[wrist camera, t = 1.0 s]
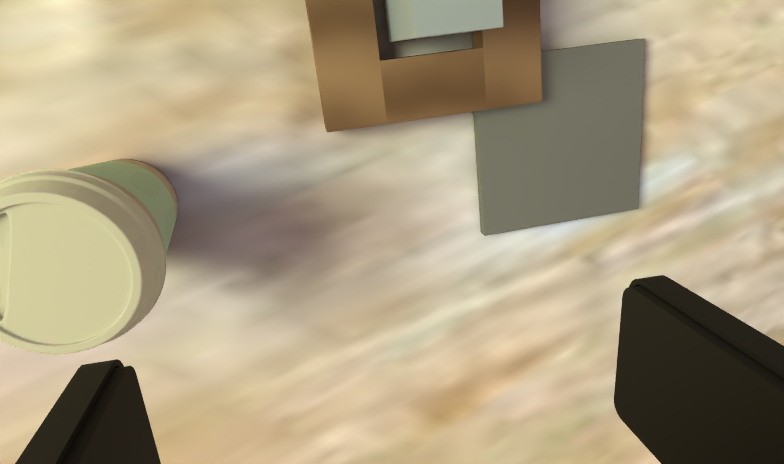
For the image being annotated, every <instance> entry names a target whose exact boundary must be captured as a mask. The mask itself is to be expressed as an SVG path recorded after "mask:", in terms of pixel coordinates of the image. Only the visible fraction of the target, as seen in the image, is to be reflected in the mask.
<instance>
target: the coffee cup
mask: <svg viewBox="0 0 784 464" xmlns="http://www.w3.org/2000/svg"><path fill="white" fill-rule="evenodd" d="M177 214H178V201H177V196H176V193H175V191H174V189H173V187H172V185H171V184H170V182H169V181H168V180H167V178H166V177H165V176H164V175H163V174H162V173H161V172H159V171H158V170H157V169H155V168H153V167H152V166H150V165H148V164H146V163H143V162H140V161H136V160H130V159H119V160H112V161H107V162H102V163H97V164H92V165H87V166H83V167H78V168H73V169H68V170H61V169H41V170H33V171H28V172H23V173H20V174H16V175H13V176H11V177H8V178H6V179H4V180H2V181H0V340H1V341H3V342H4V343H7V344H9V345H12V346H14V347H17V348H20V349H23V350H27V351H31V352H36V353H44V354H69V353H75V352H80V351H84V350H88V349H91V348H94V347H96V346H98V345H101V344H104V343H106V342H109V341H111V340H114V339H116V338H118V337H119V336H121V335H123V334H125V333H126V332H128V331H129V330H130V329H132V328H133V327H134V326H135V325H136V324H138V323H139V322H140V321H141V320H142V319H143V318H144V317H145V316H146V315H147V314H148V313H149V312H150V311H151V309H152V308H153V306H154V305H155V303H156V302H157V300H158V298H159V296H160V294H161V291H162V288H163V285H164V281H165V274H166V258H165V257H166V254H167V250H168V247H169V243H170V240H171V237H172V233H173V230H174V226H175V222H176V219H177Z"/></svg>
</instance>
